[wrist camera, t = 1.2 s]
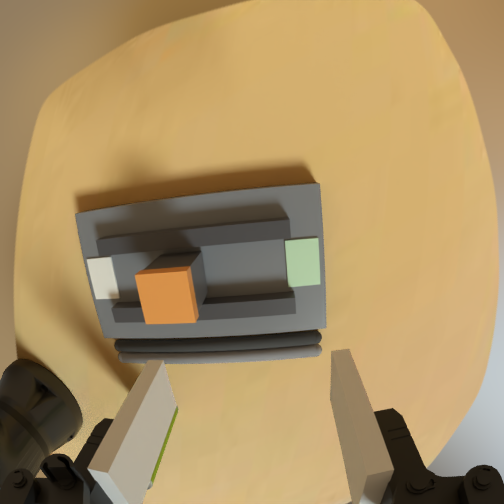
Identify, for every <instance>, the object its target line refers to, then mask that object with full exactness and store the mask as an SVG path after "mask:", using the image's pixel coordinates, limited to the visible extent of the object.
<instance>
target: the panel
mask: <svg viewBox="0 0 504 504" xmlns="http://www.w3.org/2000/svg"><path fill="white" fill-rule="evenodd" d="M75 216H76V222H77V228H78V233H79V239H80V244H81V249H82V254H83V258H84V263H85V267H86V272H87V276H88V280H89V284H90V288H91V292H92V296H93V300H94V304H95V307H96V311H97V314H98V318H99V321H100V325H101V328H102V331H103V335H104V338H193V337H218V336H237V335H253V334H268V333H280V332H292V331H303V330H313V329H323V328H326V288H325V260H324V239H323V222H322V207H321V193H320V183H317V182H316V183H302V184H290V185H278V186H267V187H257V188H246V189H237V190H228V191H219V192H210V193H202V194H194V195H186V196H178V197H171V198H164V199H157V200H150V201H143V202H136V203H130V204H124V205H117V206H111V207H105V208H99V209H94V210H88V211H83V212H80V213H77V214H75ZM195 251H202V255H203V262H204V269H205V275H206V282H207V288H208V293H207V295H206V297H205V300H204V302H203V304H202V306H201V308H200V310H199V313H198V314H199V317H198V319H197V321H196V323H178V324H146V322H145V318H144V314H143V310H142V306H141V302H140V297H139V293H138V288H137V284H136V279H135V274H136V273H138V272H139V271H140V270H144V269H145V268H146V267H147V266H148V265H149V264H150V263H152V262H153V261H154V260H155V259H156V258H157V257H159V256H160V255H162V254H173V253H184V252H195Z"/></svg>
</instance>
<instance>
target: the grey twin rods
mask: <svg viewBox="0 0 504 504" xmlns="http://www.w3.org/2000/svg"><path fill="white" fill-rule="evenodd" d="M321 339H322V336H321V334H320V332H318V331H308V332H297V333H286V334H274V335H260V336H245V337H227V338H205V339H168V340H117V341H116V342H115V344H114V346H115V349H116V350H118V351H122V352H120V353H119V355H118V359H119V360H120V361H121V362H123V363H147V361H148V360H164V364H205V363H235V362H254V361H270V360H283V359H295V358H305V357H315V356H319V355H320V354H321V352H322V348H321V346H320V345H319V344H317V343H319V342H320V341H321Z"/></svg>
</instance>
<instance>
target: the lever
mask: <svg viewBox="0 0 504 504" xmlns="http://www.w3.org/2000/svg"><path fill="white" fill-rule="evenodd" d="M135 279H136V284H137V288H138V293H139V297H140V302H141V306H142V310H143V314H144V318H145V322H146V324H178V323H196V321H197V319H198V317H199V314H198V313H199V310H200V308H201V306H202V304H203V302H204V300H205V297H206V295H207V293H208V288H207V282H206V275H205V269H204V262H203V255H202V251H195V252H184V253H173V254H162V255H160V256H159V257H157V258H156V259H155V260H154V261H153V262H152V263H150V264H149V265H148V266H147V267H146V268H145V269H144V270H140V271H139V272H138V273H136V274H135Z"/></svg>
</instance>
